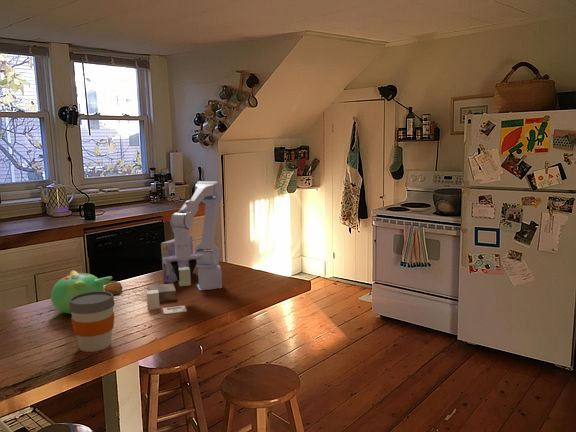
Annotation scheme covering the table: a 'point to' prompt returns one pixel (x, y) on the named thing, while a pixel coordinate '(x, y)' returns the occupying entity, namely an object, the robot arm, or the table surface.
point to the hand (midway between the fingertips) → (184, 279)
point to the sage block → (184, 276)
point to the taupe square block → (164, 291)
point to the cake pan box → (168, 270)
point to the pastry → (113, 287)
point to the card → (174, 309)
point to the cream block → (153, 299)
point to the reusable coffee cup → (92, 319)
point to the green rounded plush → (75, 288)
